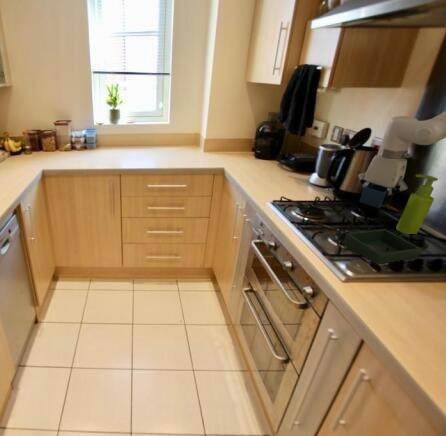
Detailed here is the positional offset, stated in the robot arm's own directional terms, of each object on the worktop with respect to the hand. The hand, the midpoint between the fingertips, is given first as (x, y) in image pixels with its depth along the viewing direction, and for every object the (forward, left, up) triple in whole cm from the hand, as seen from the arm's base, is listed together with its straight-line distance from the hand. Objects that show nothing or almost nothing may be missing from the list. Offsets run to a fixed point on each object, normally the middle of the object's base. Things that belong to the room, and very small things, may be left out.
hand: (374, 200), depth 118 cm
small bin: (0, 0, -1) cm, 1 cm away
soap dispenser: (-3, +12, -7) cm, 14 cm away
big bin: (+18, +22, -7) cm, 29 cm away
